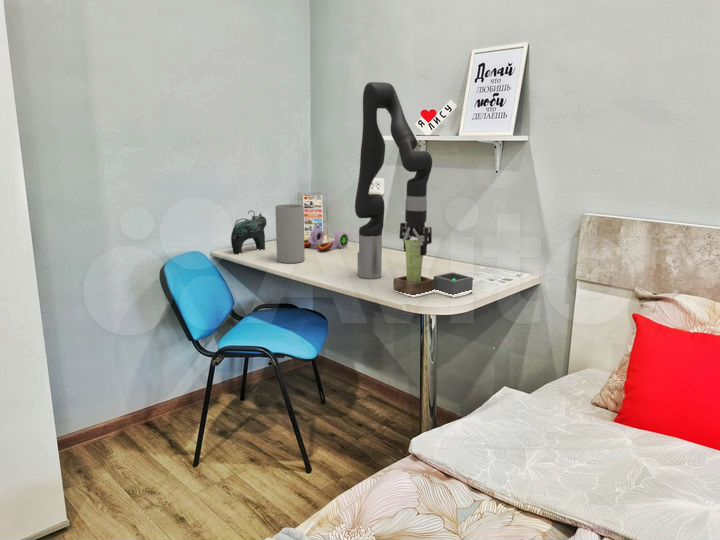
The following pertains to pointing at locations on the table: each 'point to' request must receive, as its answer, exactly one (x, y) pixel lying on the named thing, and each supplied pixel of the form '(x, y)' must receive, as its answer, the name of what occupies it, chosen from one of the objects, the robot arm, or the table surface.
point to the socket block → (453, 283)
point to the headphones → (318, 237)
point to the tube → (413, 260)
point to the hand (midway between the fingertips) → (414, 253)
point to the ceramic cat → (248, 233)
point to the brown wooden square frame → (413, 285)
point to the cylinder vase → (290, 233)
